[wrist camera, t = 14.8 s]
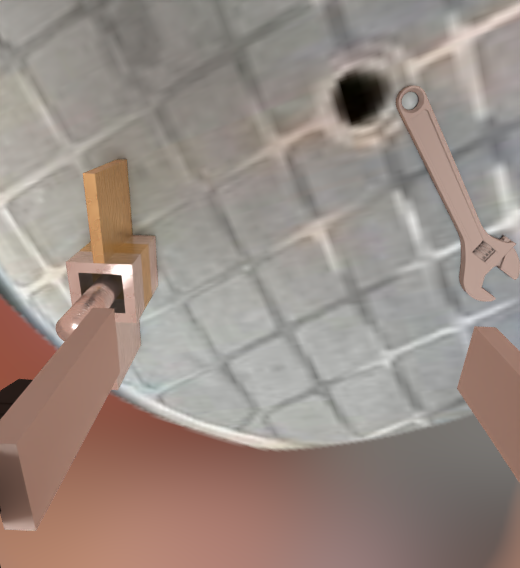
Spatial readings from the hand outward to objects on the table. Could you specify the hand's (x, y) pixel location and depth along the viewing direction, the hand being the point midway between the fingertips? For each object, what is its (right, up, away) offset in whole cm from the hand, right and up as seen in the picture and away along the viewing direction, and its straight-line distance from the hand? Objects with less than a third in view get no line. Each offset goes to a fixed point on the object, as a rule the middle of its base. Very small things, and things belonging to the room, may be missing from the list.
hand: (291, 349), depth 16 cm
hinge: (-16, +5, +32) cm, 37 cm away
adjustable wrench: (+20, +12, +30) cm, 38 cm away
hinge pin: (-16, +5, +33) cm, 37 cm away
